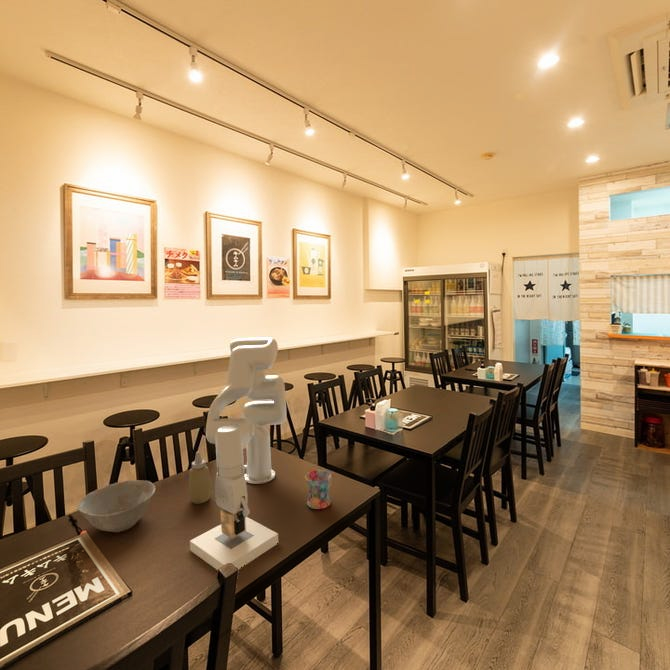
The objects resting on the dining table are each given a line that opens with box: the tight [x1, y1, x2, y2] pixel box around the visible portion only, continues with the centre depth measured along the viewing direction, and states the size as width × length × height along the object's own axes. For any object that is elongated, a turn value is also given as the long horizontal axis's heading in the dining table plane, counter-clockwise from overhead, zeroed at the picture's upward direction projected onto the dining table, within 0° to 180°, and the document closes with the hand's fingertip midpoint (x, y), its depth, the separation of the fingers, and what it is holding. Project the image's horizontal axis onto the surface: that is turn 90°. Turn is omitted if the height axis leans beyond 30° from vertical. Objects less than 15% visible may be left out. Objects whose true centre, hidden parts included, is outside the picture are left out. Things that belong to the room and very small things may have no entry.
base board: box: [189, 516, 279, 571], centre depth 115 cm, size 18×18×3 cm
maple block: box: [219, 508, 246, 539], centre depth 114 cm, size 5×5×7 cm
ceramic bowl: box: [77, 479, 156, 533], centre depth 128 cm, size 22×23×10 cm
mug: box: [304, 469, 335, 510], centre depth 138 cm, size 12×9×11 cm
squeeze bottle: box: [188, 451, 213, 505], centre depth 142 cm, size 8×8×18 cm
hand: (233, 528), depth 115 cm, fingers closed on maple block, 5 cm apart
